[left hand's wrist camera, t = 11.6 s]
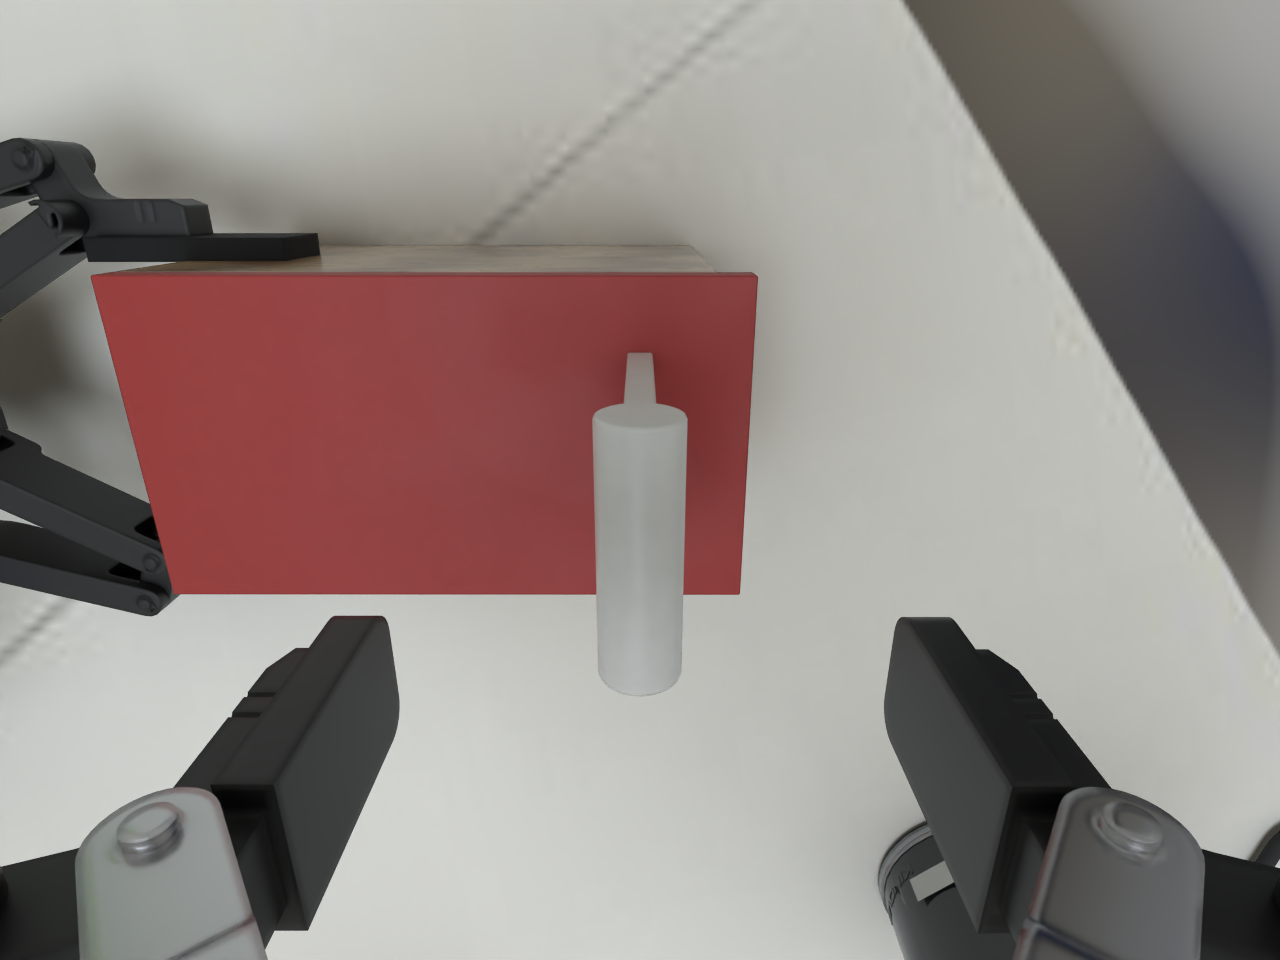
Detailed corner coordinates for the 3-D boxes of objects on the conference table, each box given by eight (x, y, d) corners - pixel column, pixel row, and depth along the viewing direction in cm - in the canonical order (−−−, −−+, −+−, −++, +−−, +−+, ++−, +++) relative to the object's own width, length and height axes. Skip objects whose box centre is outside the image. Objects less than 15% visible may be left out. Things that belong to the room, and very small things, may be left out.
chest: (691, 245, 31) (717, 272, 21) (686, 463, 35) (706, 580, 24) (290, 245, 31) (113, 271, 21) (325, 463, 35) (191, 579, 24)
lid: (753, 272, 21) (823, 322, 13) (736, 580, 24) (783, 769, 16) (112, 271, 21) (-217, 321, 13) (189, 580, 24) (-29, 769, 16)
